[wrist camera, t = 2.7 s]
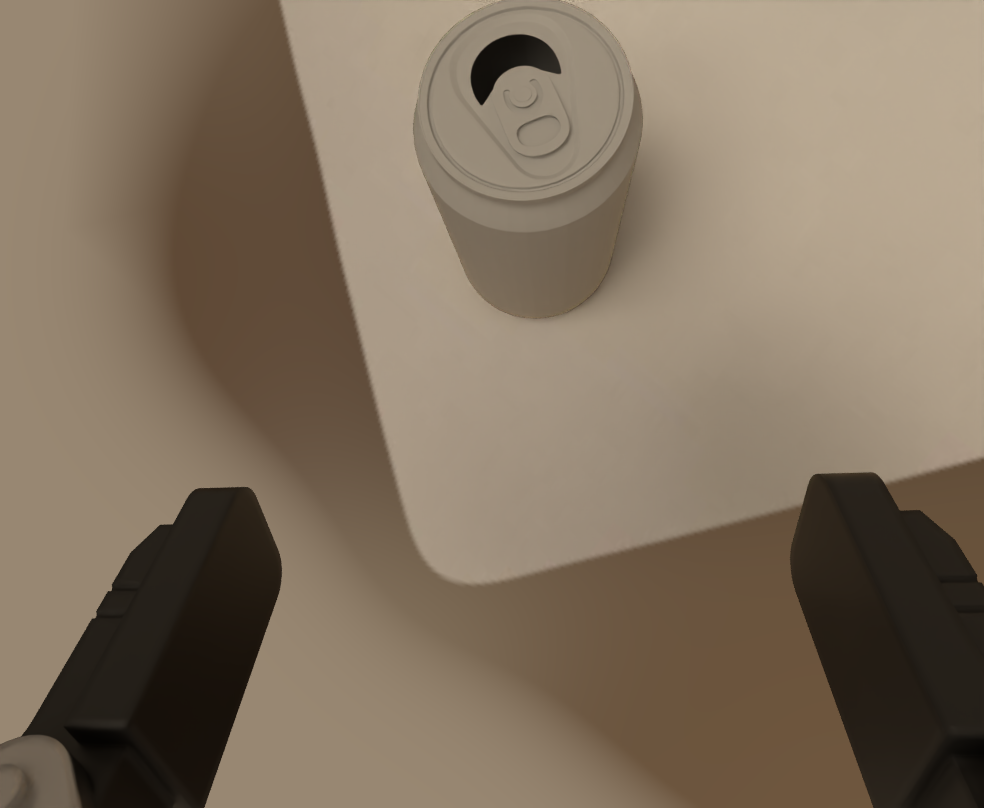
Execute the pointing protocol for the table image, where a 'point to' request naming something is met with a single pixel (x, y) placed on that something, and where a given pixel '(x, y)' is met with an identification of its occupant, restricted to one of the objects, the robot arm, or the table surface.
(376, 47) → the table surface
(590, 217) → the beverage can
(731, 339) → the table surface
